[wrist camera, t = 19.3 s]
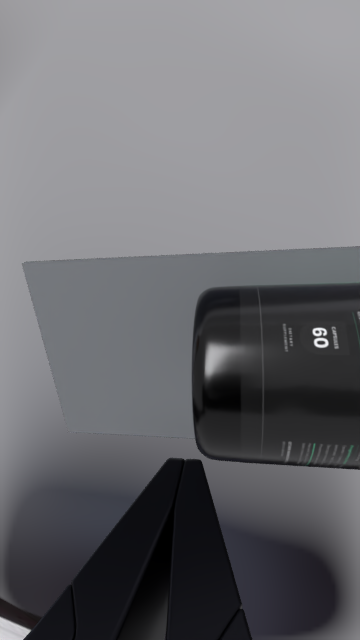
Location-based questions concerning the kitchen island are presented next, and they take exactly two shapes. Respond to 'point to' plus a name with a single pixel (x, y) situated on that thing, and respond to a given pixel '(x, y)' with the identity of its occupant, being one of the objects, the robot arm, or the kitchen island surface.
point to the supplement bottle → (278, 374)
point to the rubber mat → (147, 328)
